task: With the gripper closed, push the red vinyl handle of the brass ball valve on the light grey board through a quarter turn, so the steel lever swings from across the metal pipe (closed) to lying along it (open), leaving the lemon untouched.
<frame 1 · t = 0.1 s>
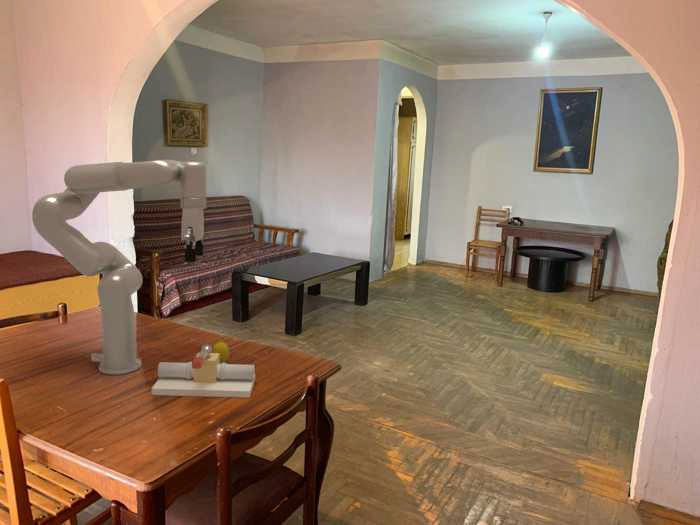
hand: (194, 258, 166), 37 cm above the table, tool pointing down, fingers open, 9 cm apart
valve lever: (202, 355, 155), point 12 cm above the table, hinge at 0.0°
lemon: (220, 364, 178), on the table
valve base: (207, 384, 163), on the table
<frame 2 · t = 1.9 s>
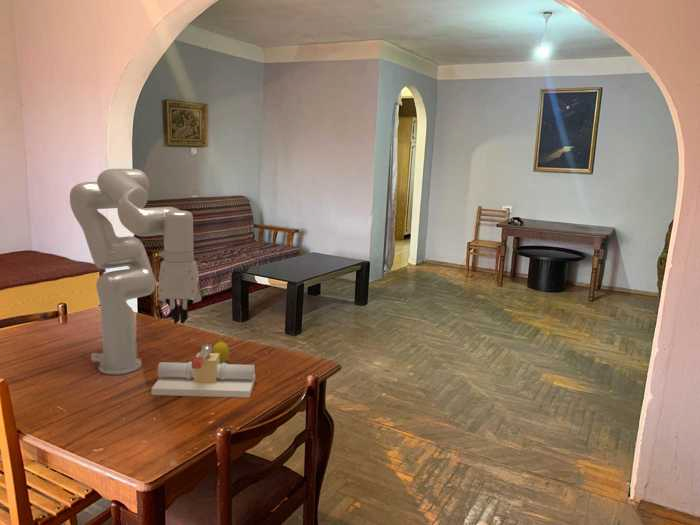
hand: (180, 321, 148), 23 cm above the table, tool pointing down, fingers closed
nothing on the table moved.
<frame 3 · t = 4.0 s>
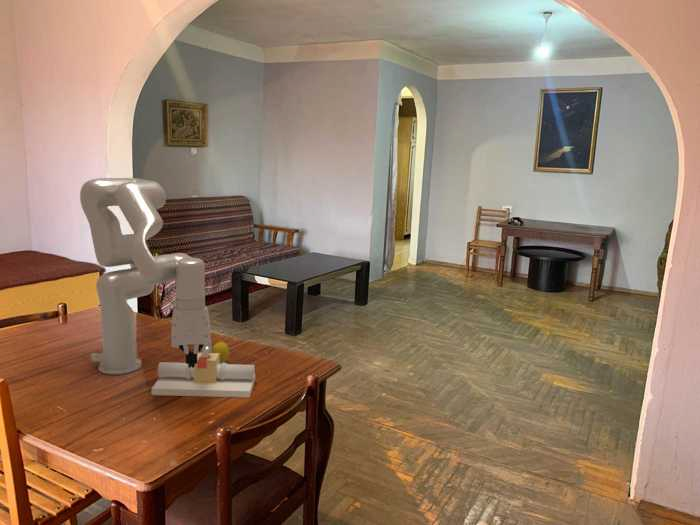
hand: (191, 365, 151), 10 cm above the table, tool pointing down, fingers closed
valve lever: (204, 355, 155), point 12 cm above the table, hinge at 6.8°, touching gripper
everything else where it was.
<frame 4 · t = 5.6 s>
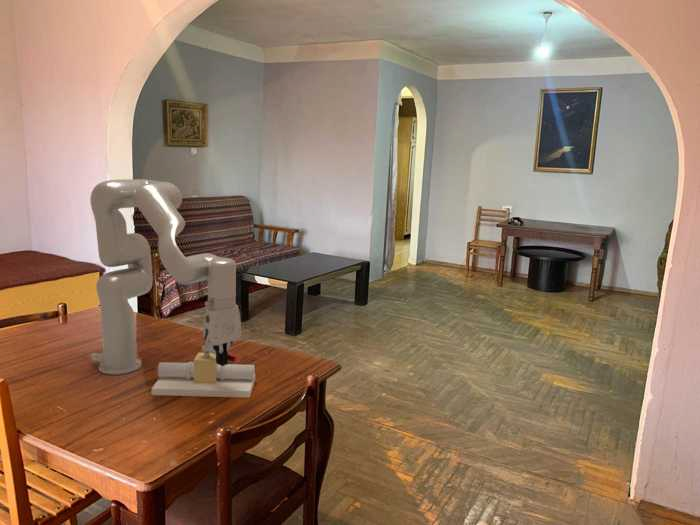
hand: (221, 363, 153), 10 cm above the table, tool pointing down, fingers closed
valve lever: (220, 353, 157), point 12 cm above the table, hinge at 55.0°, touching gripper
everything else where it was.
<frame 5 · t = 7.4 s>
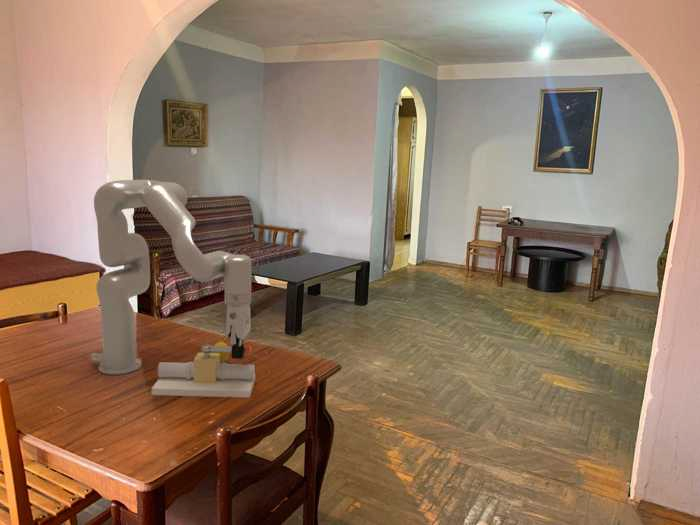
hand: (237, 357, 158), 10 cm above the table, tool pointing down, fingers closed
valve lever: (226, 348, 161), point 12 cm above the table, hinge at 91.6°, touching gripper
everything else where it was.
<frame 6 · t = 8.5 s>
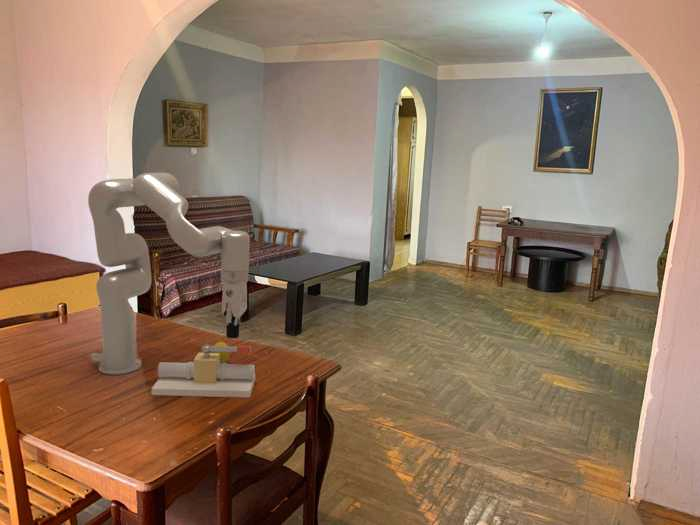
hand: (232, 337, 153), 18 cm above the table, tool pointing down, fingers closed
valve lever: (226, 348, 161), point 12 cm above the table, hinge at 91.6°
everything else where it was.
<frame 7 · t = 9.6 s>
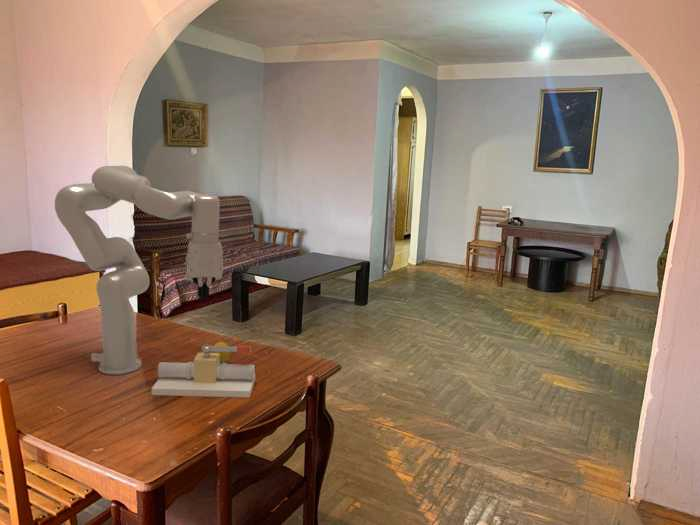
hand: (203, 298, 159), 27 cm above the table, tool pointing down, fingers closed
nothing on the table moved.
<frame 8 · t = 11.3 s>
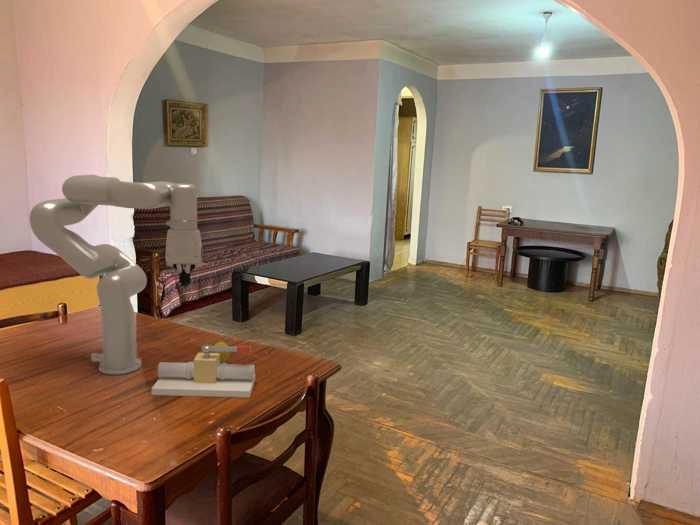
hand: (185, 285, 163), 29 cm above the table, tool pointing down, fingers closed
nothing on the table moved.
at the end: valve lever at +92° (first picture: +0°); lemon moved 0.2 cm from its start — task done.
